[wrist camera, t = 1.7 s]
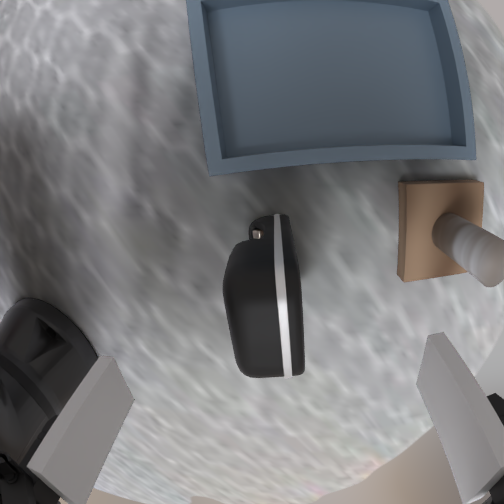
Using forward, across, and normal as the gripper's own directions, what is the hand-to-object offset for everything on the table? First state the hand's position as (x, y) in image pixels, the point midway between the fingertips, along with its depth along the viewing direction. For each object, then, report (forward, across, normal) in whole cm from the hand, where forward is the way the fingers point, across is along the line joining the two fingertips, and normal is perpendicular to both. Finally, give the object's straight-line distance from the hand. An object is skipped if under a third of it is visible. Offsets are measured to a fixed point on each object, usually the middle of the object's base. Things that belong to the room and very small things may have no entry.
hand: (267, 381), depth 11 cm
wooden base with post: (+14, +15, +1) cm, 20 cm away
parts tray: (+14, +7, +14) cm, 21 cm away
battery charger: (+14, 0, 0) cm, 14 cm away
